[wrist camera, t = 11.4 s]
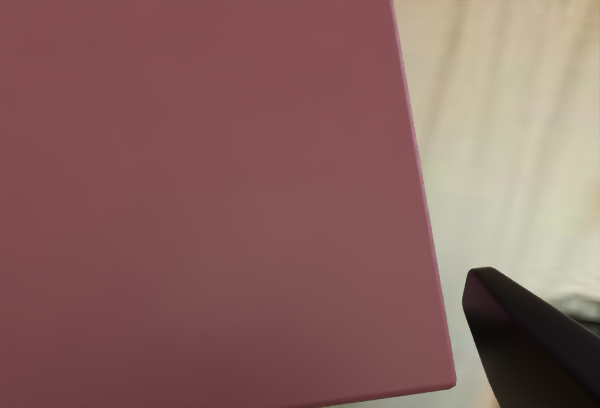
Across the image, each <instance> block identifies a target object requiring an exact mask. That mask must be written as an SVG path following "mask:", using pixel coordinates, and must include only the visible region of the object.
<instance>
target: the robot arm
mask: <svg viewBox="0 0 600 408" xmlns="http://www.w3.org/2000/svg"><path fill="white" fill-rule="evenodd" d="M462 306H463V310H464V313H465V316H466V319H467V322H468V325H469V328H470V330H471V333H472V336H473V339H474V342H475V345H476V348H477V350H478V353H479V356H480V359H481V362H482V365H483V367H484V370H485V373H486V376H487V378H488V381H489V384H490V386H491V388H492V390H493V392H494V395H495V397H496V399H497V401H498V403H499V405H500V407H501V408H600V337H599V336H598V335H596V334H595V333H593V332H591V331H590V330H588V329H587V328H585V327H584V326H582V325H581V324H579V323H578V322H576V321H575V320H573V319H571V318H570V317H568V316H567V315H565V314H564V313H562V312H561V311H559V310H558V309H556V308H555V307H553V306H552V305H550V304H548V303H547V302H545V301H544V300H542V299H541V298H539V297H538V296H536V295H535V294H533V293H532V292H530V291H528V290H527V289H525V288H524V287H522V286H521V285H519V284H518V283H516V282H515V281H513V280H512V279H510V278H508V277H507V276H505V275H504V274H502V273H501V272H499V271H498V270H496V269H494V268H492V267H481V268H473V269H471V270H469V272H468V274H467V278H466V283H465V288H464V292H463V297H462Z"/></svg>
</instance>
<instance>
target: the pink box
mask: <svg viewBox="0 0 600 408" xmlns="http://www.w3.org/2000/svg"><path fill="white" fill-rule="evenodd" d="M454 386H456V373H455V367H454V361H453V355H452V349H451V343H450V337H449V331H448V325H447V319H446V313H445V307H444V301H443V295H442V289H441V283H440V277H439V271H438V265H437V259H436V253H435V247H434V241H433V235H432V229H431V223H430V218H429V212H428V206H427V200H426V194H425V188H424V182H423V176H422V170H421V164H420V158H419V152H418V146H417V140H416V134H415V128H414V122H413V116H412V110H411V104H410V98H409V92H408V86H407V80H406V74H405V68H404V62H403V56H402V51H401V45H400V39H399V33H398V27H397V21H396V15H395V9H394V3H393V0H0V408H320V407H327V406H334V405H341V404H348V403H355V402H362V401H369V400H377V399H384V398H391V397H398V396H405V395H412V394H419V393H426V392H433V391H440V390H447V389H451V388H452V387H454Z"/></svg>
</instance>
